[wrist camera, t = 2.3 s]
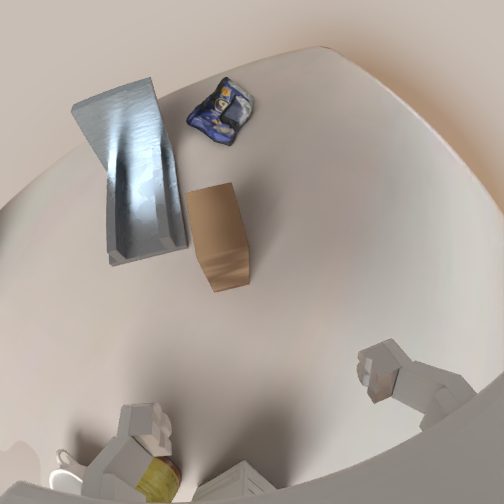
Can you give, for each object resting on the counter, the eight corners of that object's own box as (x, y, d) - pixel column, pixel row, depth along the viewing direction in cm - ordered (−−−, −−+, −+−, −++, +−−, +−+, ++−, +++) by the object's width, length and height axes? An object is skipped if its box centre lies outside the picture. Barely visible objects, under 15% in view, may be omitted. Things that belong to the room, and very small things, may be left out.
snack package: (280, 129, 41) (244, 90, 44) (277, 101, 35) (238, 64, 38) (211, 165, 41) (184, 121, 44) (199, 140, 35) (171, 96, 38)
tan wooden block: (214, 292, 31) (196, 258, 21) (204, 244, 33) (185, 192, 23) (249, 284, 32) (248, 245, 21) (237, 236, 34) (231, 182, 23)
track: (112, 266, 32) (48, 212, 19) (112, 171, 38) (73, 104, 25) (187, 247, 33) (152, 177, 20) (173, 153, 39) (150, 76, 26)
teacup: (132, 505, 21) (115, 523, 16) (90, 509, 19) (71, 522, 14) (93, 440, 24) (70, 449, 19) (55, 447, 23) (31, 455, 18)
